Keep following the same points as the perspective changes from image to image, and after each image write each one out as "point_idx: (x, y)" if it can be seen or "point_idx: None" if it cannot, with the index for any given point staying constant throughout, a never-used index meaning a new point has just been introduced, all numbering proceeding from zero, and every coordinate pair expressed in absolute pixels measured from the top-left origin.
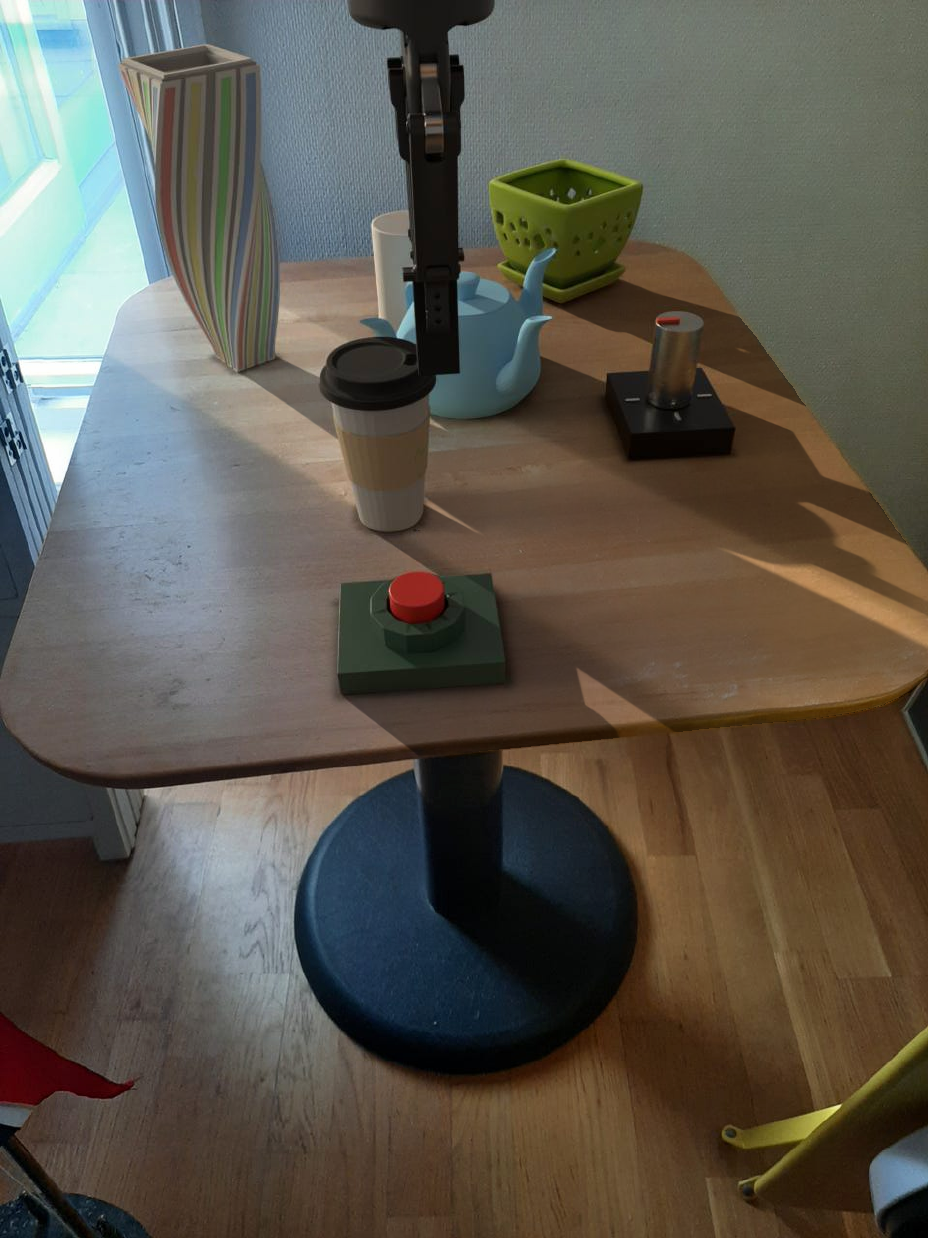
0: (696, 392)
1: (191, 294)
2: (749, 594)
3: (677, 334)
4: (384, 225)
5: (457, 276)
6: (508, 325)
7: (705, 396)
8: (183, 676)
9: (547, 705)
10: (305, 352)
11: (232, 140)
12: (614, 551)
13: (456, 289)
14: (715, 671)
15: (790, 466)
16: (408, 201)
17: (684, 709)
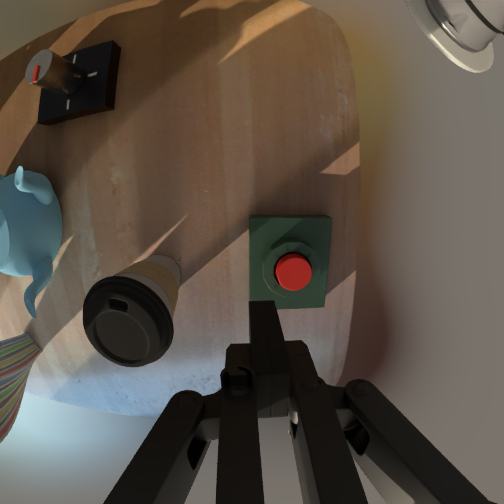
0: None
1: (23, 388)
2: (266, 60)
3: (51, 65)
4: None
5: (371, 384)
6: (10, 199)
7: (75, 58)
8: None
9: (344, 195)
10: (18, 316)
11: None
12: (213, 128)
13: (288, 359)
14: (329, 99)
15: (142, 18)
16: (195, 476)
17: (354, 125)
